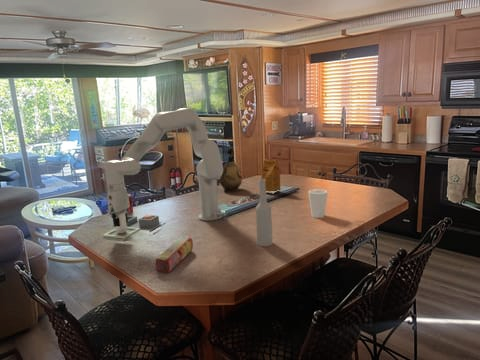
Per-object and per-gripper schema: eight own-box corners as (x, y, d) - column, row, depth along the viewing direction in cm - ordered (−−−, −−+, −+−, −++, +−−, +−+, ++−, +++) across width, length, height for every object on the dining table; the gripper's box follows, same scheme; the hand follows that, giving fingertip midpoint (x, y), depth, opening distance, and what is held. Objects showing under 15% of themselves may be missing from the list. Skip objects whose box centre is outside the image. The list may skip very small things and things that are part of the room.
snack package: (170, 274, 130) (168, 257, 129) (154, 273, 132) (152, 256, 131) (194, 251, 150) (193, 236, 149) (179, 250, 152) (178, 235, 151)
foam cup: (329, 214, 189) (329, 189, 186) (325, 219, 180) (325, 194, 178) (311, 212, 193) (310, 189, 190) (306, 217, 184) (306, 193, 182)
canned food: (135, 212, 211) (133, 193, 208) (127, 216, 203) (125, 197, 201) (125, 211, 213) (122, 193, 211) (116, 215, 206) (113, 197, 204)
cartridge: (129, 229, 173) (126, 209, 171) (122, 233, 169) (120, 212, 166) (120, 228, 175) (118, 209, 173) (114, 232, 170) (111, 212, 168)
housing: (161, 225, 185) (160, 214, 184) (150, 231, 176) (149, 221, 175) (125, 222, 193) (124, 212, 192) (112, 228, 184) (111, 218, 183)
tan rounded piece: (154, 222, 182) (154, 215, 182) (150, 225, 179) (149, 217, 178) (148, 222, 184) (147, 214, 183) (143, 224, 180) (142, 217, 179)
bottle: (261, 247, 150) (258, 182, 144) (254, 242, 156) (251, 179, 150) (275, 244, 152) (273, 179, 146) (268, 239, 158) (265, 177, 152)
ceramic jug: (242, 192, 244) (240, 148, 238) (219, 193, 244) (217, 149, 238) (242, 186, 260) (240, 145, 254) (221, 187, 261) (218, 146, 255)
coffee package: (269, 189, 248) (268, 157, 243) (282, 192, 239) (281, 159, 234) (258, 192, 242) (257, 159, 237) (272, 195, 232) (270, 161, 228)
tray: (140, 232, 176) (139, 228, 175) (124, 241, 165) (124, 236, 164) (120, 230, 180) (119, 226, 179) (103, 239, 169) (103, 234, 168)
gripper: (110, 191, 158) (115, 230, 162) (134, 183, 174) (138, 219, 177) (96, 191, 161) (102, 229, 165) (121, 182, 176) (126, 218, 180)
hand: (120, 223), depth 171 cm, fingers closed on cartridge, 5 cm apart
